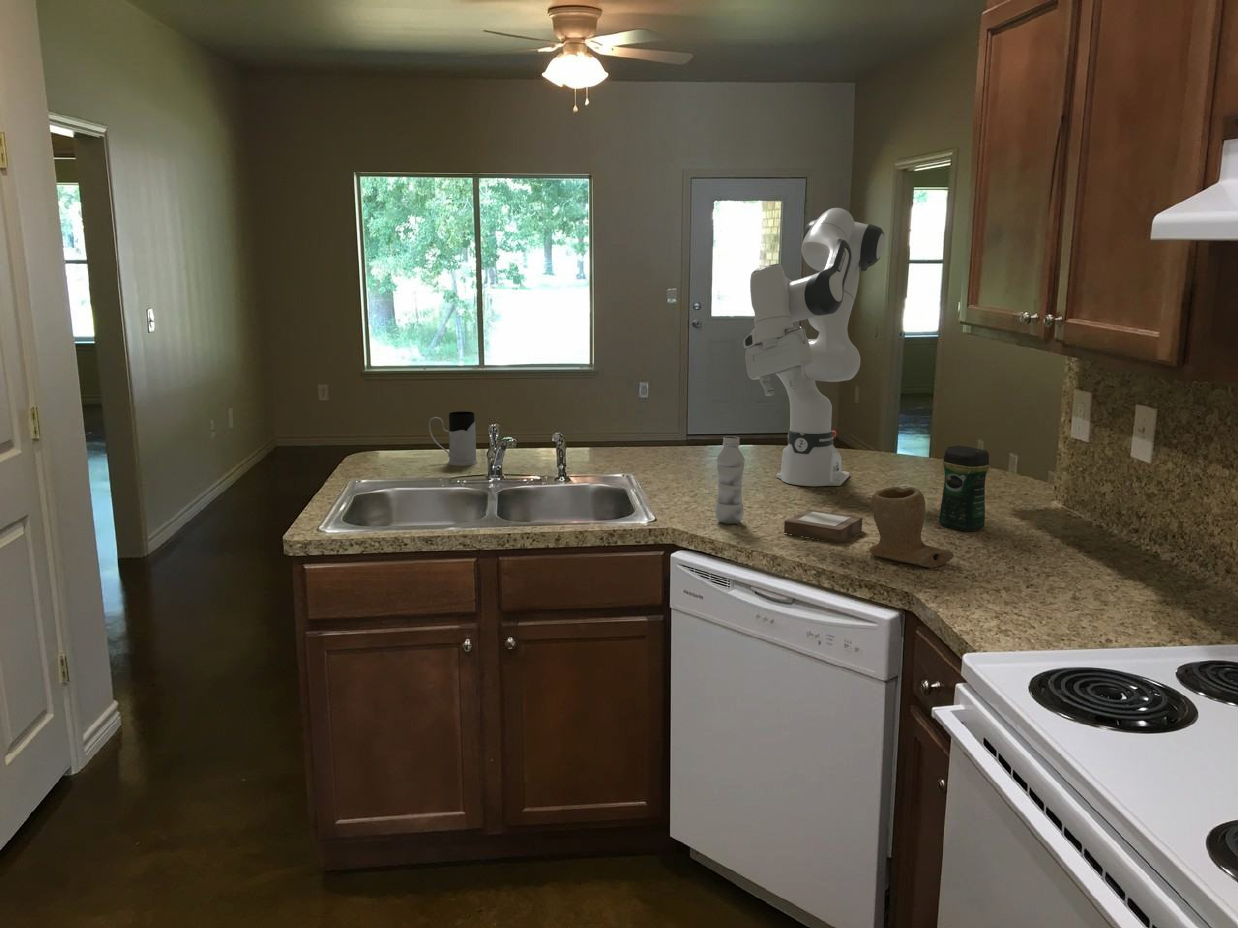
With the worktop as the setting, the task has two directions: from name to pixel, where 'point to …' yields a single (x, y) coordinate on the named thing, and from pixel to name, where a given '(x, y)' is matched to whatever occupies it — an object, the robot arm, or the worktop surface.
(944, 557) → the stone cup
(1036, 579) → the worktop surface
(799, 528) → the walnut slab
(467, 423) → the grey and black mug
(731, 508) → the plastic bottle
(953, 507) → the coffee jar
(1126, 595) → the worktop surface
